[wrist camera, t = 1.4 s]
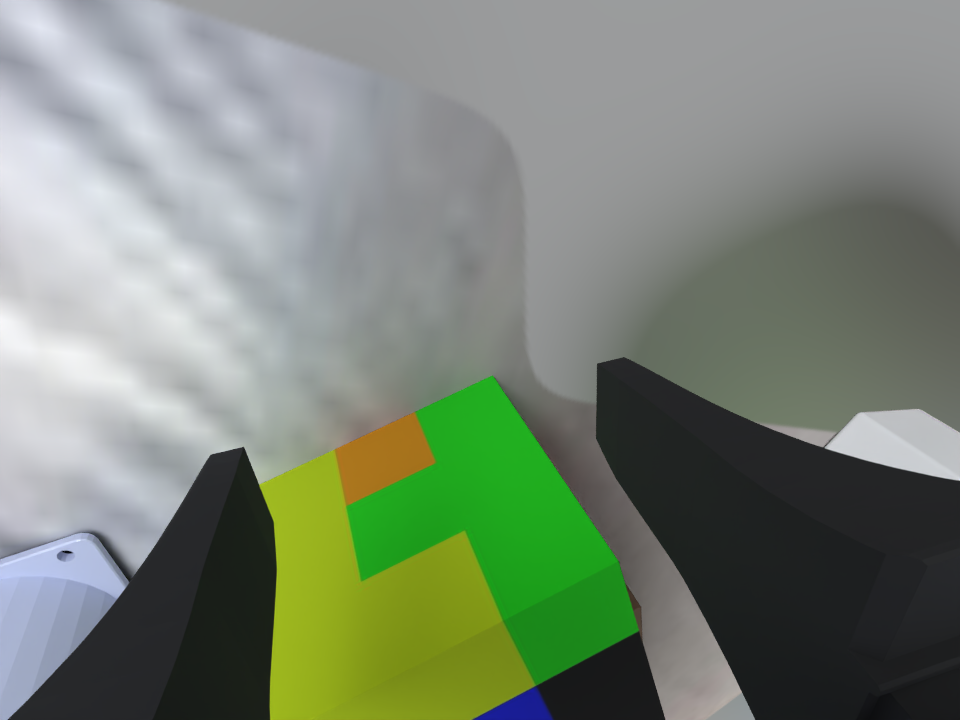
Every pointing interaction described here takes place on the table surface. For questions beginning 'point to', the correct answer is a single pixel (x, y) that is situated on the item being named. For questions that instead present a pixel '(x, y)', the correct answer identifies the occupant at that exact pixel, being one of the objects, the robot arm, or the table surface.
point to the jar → (902, 442)
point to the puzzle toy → (448, 580)
